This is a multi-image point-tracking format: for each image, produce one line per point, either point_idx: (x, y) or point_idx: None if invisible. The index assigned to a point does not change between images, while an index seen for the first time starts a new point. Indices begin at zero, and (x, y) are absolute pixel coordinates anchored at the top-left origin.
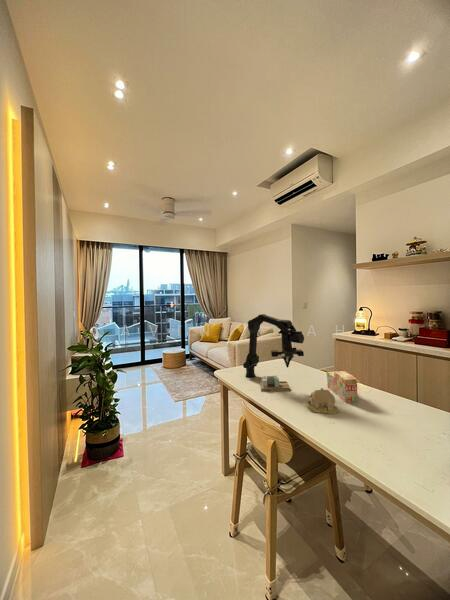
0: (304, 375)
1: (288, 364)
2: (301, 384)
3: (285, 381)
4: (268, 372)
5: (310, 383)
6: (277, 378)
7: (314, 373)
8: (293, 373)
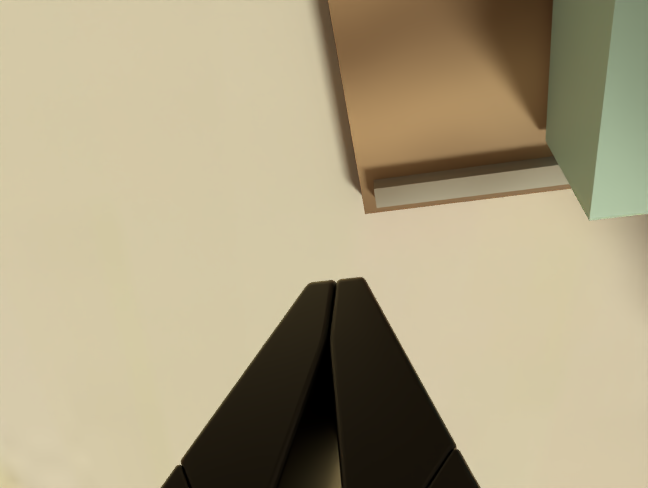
0: (159, 434)
1: (278, 363)
2: (144, 180)
3: (394, 193)
4: (576, 484)
5: (28, 228)
6: (643, 6)
7: (68, 476)
8: None
